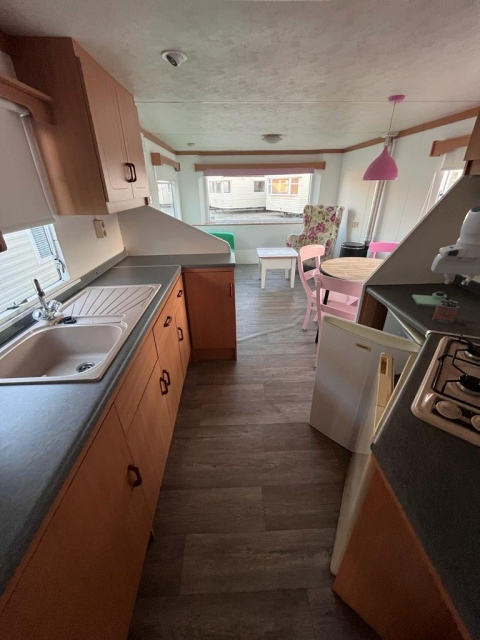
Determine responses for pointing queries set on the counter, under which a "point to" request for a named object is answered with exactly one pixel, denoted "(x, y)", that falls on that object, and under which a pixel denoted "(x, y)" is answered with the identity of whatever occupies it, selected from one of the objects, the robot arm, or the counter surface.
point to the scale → (428, 299)
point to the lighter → (446, 311)
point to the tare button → (440, 293)
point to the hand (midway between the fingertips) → (455, 284)
